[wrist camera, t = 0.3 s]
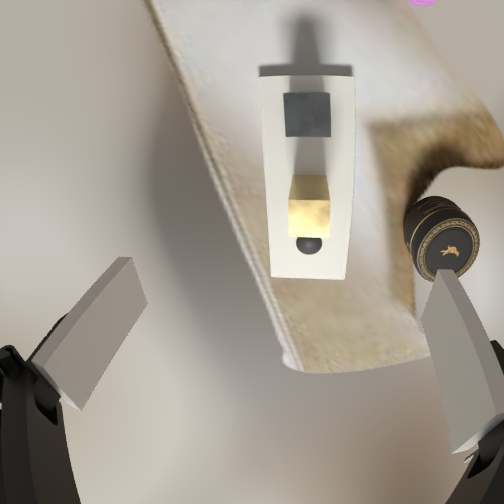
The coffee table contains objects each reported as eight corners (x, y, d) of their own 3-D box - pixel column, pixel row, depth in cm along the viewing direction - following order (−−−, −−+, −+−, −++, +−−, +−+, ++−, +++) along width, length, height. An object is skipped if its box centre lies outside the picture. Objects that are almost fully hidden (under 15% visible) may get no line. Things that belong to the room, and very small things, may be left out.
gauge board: (259, 77, 30) (257, 77, 28) (352, 77, 27) (354, 76, 26) (272, 270, 44) (271, 277, 43) (343, 273, 42) (344, 279, 41)
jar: (393, 201, 35) (410, 228, 28) (455, 184, 31) (481, 207, 25) (404, 260, 39) (417, 293, 33) (460, 243, 35) (480, 273, 29)
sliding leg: (293, 173, 34) (288, 199, 27) (326, 174, 33) (330, 200, 26) (293, 203, 36) (289, 236, 29) (325, 204, 35) (328, 237, 28)
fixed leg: (289, 91, 29) (282, 93, 22) (324, 91, 28) (330, 93, 21) (291, 124, 31) (285, 136, 24) (325, 124, 30) (331, 137, 23)
